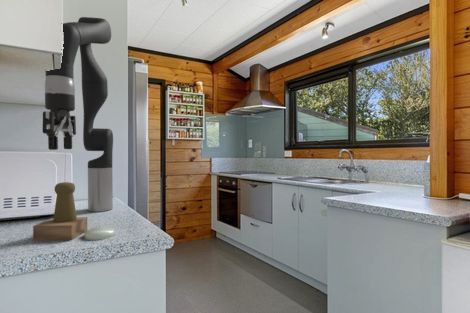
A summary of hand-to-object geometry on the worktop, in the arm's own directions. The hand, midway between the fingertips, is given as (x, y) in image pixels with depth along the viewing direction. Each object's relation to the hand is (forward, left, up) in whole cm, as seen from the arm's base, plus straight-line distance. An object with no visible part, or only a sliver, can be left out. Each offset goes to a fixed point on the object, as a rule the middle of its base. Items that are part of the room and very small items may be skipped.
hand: (60, 149), depth 88 cm
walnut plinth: (+2, +1, -25) cm, 25 cm away
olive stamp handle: (+1, +1, -21) cm, 21 cm away
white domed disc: (+3, +12, -25) cm, 28 cm away
